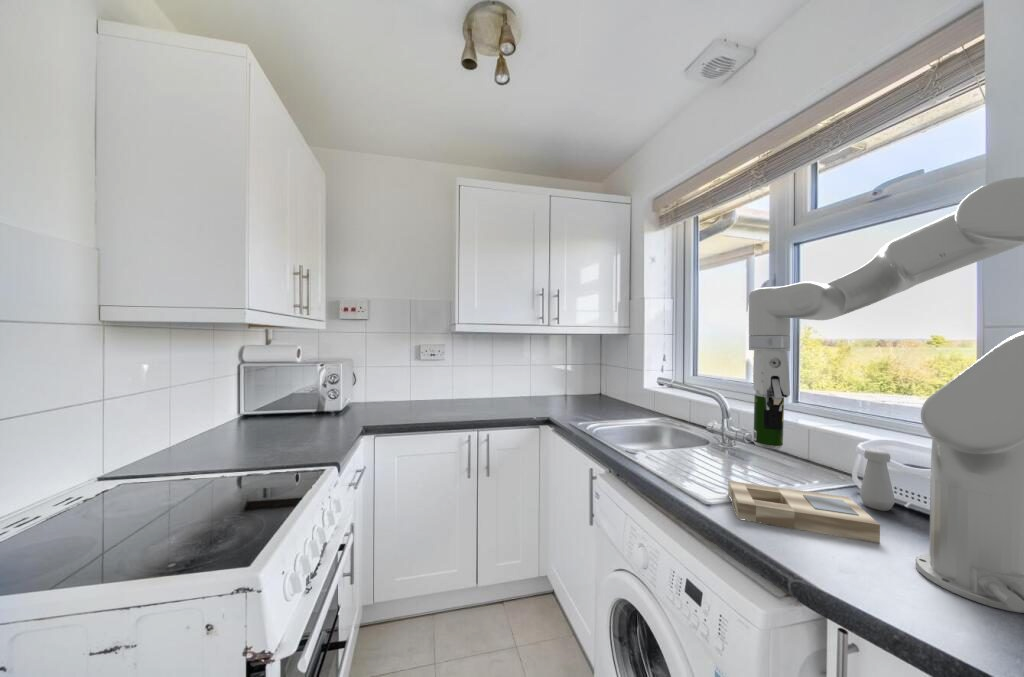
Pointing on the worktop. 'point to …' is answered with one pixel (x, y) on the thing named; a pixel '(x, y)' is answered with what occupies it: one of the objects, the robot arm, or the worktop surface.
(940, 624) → the worktop surface
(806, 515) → the can block
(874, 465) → the salt shaker
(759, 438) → the beer can
